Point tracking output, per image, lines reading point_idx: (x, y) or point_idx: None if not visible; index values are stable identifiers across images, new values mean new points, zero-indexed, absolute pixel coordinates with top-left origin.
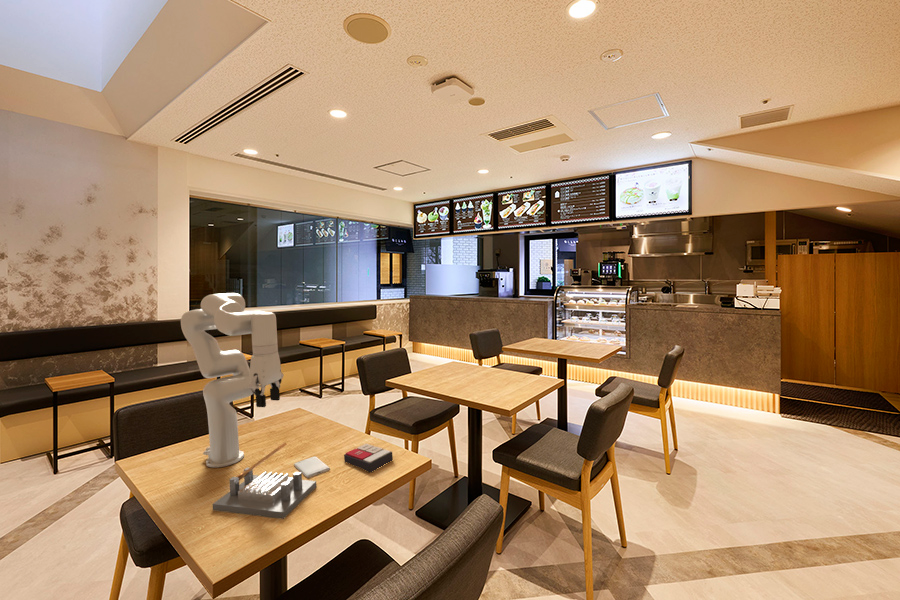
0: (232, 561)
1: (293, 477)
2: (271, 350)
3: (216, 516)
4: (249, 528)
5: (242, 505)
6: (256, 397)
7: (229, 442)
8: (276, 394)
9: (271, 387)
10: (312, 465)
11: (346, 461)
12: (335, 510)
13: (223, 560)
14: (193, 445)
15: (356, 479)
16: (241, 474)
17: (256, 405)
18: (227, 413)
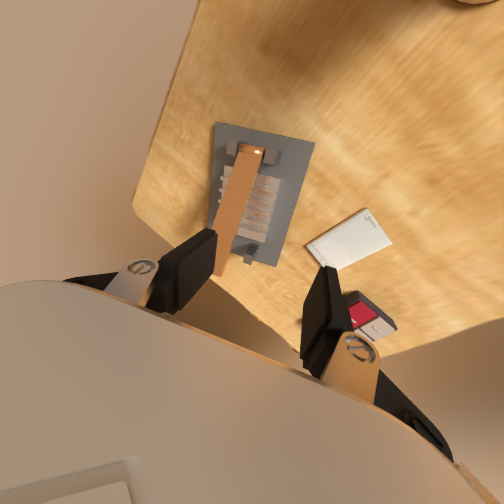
0: (150, 214)
1: (246, 252)
2: None
3: (207, 142)
4: (191, 208)
5: (214, 182)
6: (158, 261)
7: None
8: (304, 323)
9: (342, 335)
10: (344, 247)
11: (351, 294)
12: (227, 288)
13: (149, 205)
14: None
15: (291, 306)
16: (235, 161)
17: (204, 229)
18: None
